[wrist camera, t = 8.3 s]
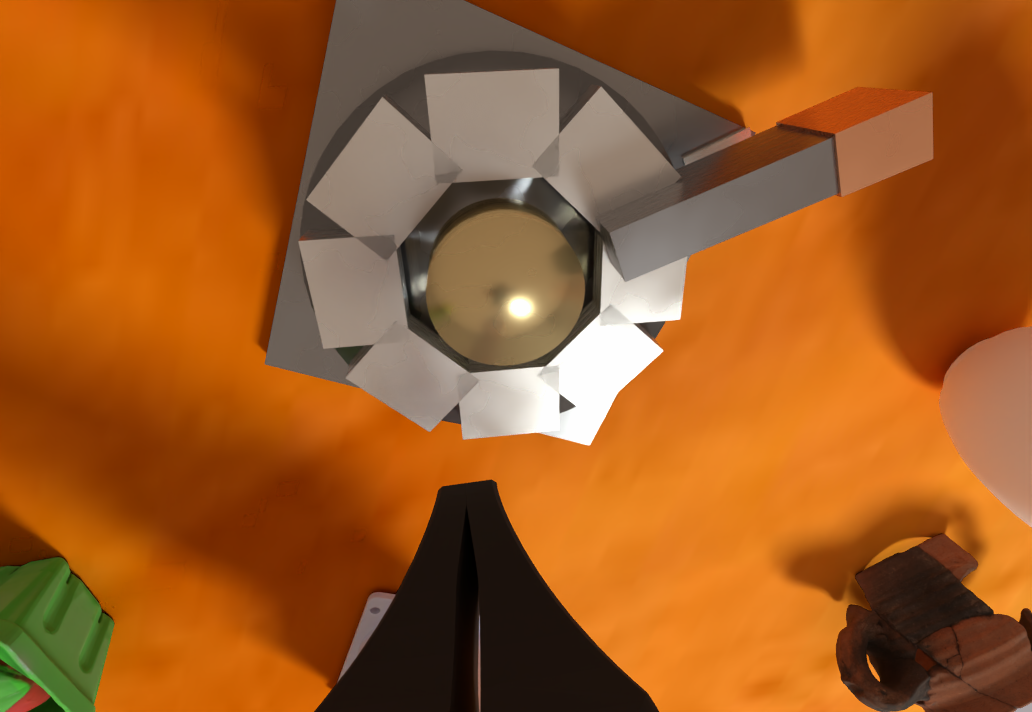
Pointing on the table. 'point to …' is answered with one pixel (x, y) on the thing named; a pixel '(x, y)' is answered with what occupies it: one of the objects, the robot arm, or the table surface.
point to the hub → (471, 192)
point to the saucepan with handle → (596, 195)
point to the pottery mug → (933, 638)
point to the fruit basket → (49, 639)
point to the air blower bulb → (994, 415)
